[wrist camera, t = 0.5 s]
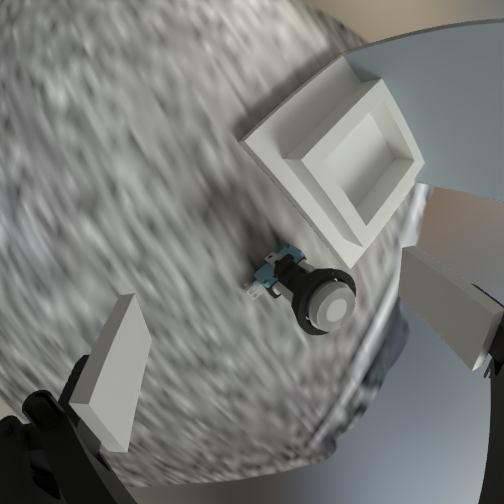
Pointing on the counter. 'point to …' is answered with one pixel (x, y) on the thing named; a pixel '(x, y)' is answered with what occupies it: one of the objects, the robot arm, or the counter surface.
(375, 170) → the holder
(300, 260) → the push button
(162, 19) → the counter surface
